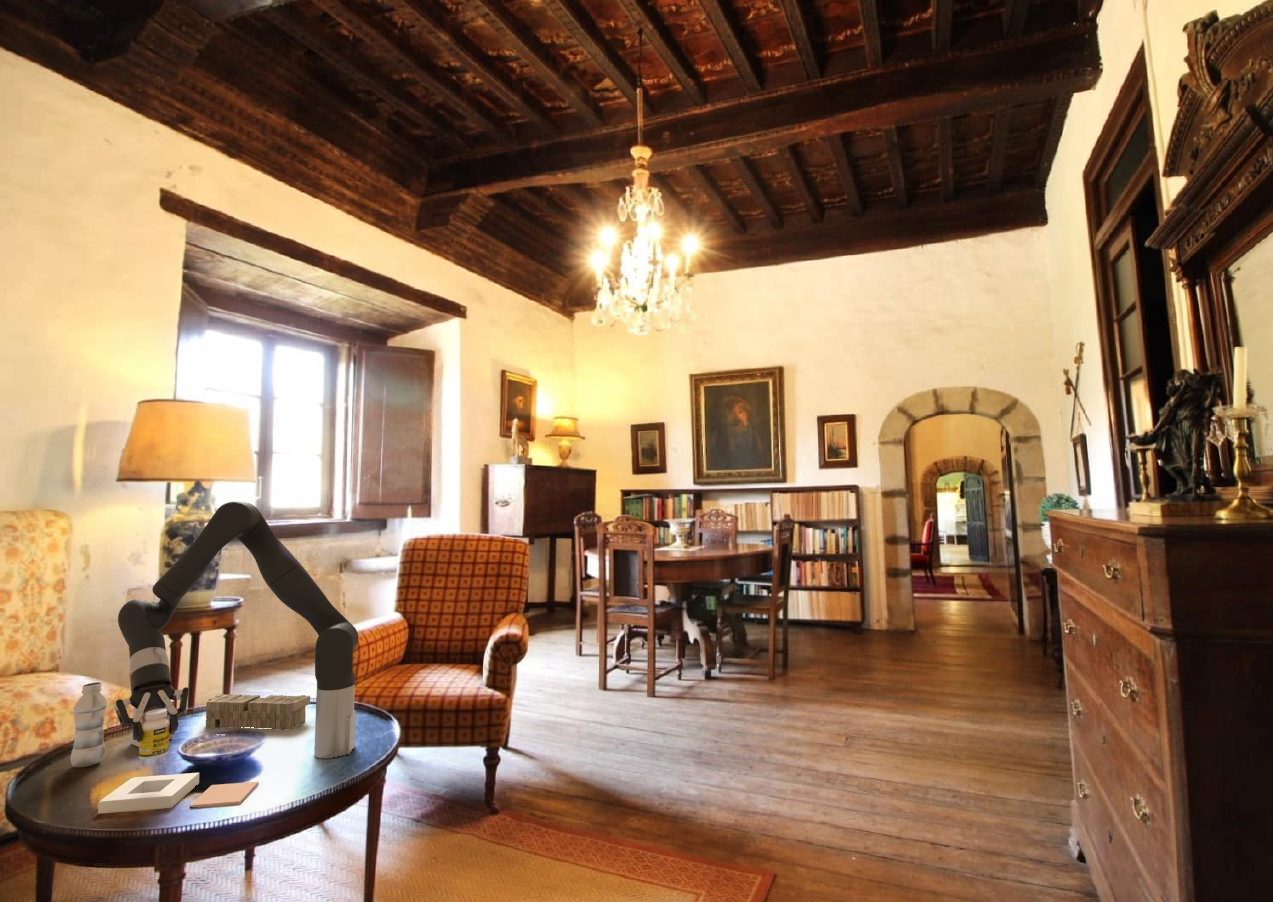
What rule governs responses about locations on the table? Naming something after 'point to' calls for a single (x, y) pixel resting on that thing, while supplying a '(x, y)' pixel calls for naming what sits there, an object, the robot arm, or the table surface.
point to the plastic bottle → (89, 726)
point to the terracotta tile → (224, 794)
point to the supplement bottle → (155, 735)
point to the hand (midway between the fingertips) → (156, 735)
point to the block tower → (256, 711)
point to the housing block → (149, 793)
